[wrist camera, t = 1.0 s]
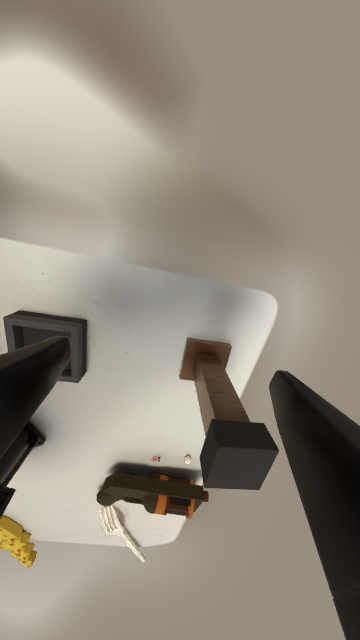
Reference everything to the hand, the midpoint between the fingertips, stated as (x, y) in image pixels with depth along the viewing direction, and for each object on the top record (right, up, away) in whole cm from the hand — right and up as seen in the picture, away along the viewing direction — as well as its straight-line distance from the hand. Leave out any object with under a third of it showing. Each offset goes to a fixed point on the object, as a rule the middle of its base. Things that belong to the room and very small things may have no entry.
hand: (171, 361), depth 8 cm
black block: (+4, -7, +6) cm, 10 cm away
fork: (-10, -42, +27) cm, 51 cm away
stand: (+4, -3, +16) cm, 17 cm away
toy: (-33, -41, +27) cm, 59 cm away
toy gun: (-6, -32, +25) cm, 41 cm away
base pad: (-15, -1, +14) cm, 20 cm away
